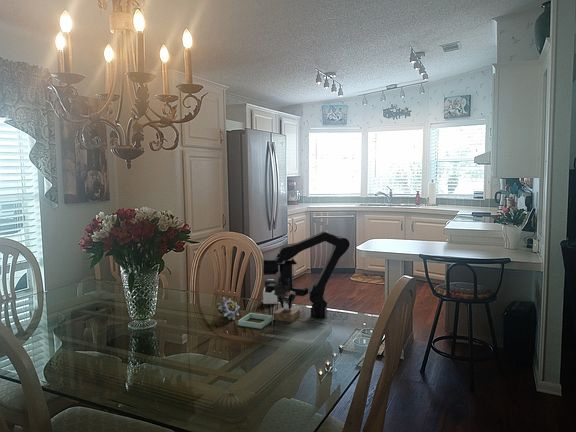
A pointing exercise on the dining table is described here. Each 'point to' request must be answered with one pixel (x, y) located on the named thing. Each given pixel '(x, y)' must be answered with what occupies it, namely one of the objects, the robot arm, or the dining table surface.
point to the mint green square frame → (244, 322)
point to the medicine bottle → (269, 294)
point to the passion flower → (228, 308)
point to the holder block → (286, 315)
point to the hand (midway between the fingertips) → (286, 308)
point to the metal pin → (286, 305)
